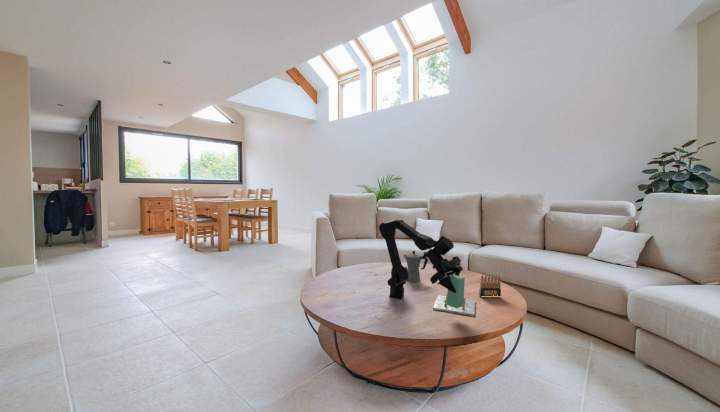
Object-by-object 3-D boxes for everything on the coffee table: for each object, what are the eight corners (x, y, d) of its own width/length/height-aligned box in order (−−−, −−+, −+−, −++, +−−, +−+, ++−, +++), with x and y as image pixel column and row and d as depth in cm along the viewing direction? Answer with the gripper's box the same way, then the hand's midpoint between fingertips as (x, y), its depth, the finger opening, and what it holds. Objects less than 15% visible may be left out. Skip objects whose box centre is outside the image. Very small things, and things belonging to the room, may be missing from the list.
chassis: (433, 309, 140) (433, 302, 140) (438, 296, 157) (438, 290, 157) (474, 316, 133) (474, 308, 133) (475, 302, 150) (475, 295, 150)
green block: (446, 304, 131) (448, 276, 130) (452, 302, 135) (454, 274, 134) (457, 308, 128) (458, 279, 127) (463, 305, 131) (464, 277, 130)
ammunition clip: (480, 297, 157) (481, 275, 156) (478, 296, 159) (480, 273, 158) (500, 297, 157) (502, 275, 156) (499, 296, 159) (500, 274, 158)
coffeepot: (400, 280, 183) (400, 251, 182) (405, 276, 191) (405, 248, 190) (424, 284, 176) (426, 254, 175) (429, 280, 184) (430, 251, 183)
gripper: (437, 253, 126) (460, 286, 119) (460, 248, 139) (482, 277, 131) (421, 268, 132) (442, 300, 125) (444, 261, 145) (464, 290, 138)
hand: (458, 291), depth 130 cm, fingers closed on green block, 5 cm apart
